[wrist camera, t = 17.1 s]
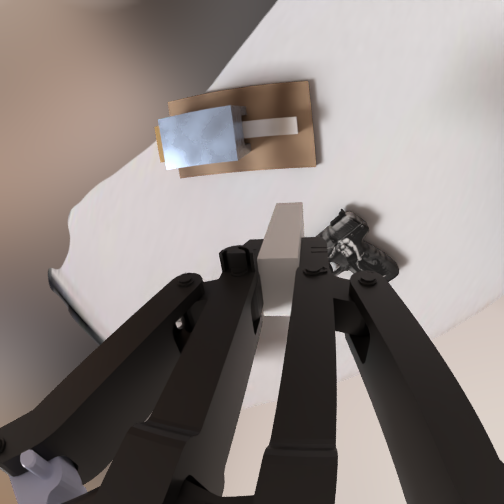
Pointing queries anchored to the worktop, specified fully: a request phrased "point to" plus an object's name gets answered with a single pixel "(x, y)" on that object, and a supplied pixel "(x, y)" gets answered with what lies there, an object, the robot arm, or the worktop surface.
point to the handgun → (355, 247)
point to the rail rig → (259, 127)
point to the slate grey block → (204, 137)
